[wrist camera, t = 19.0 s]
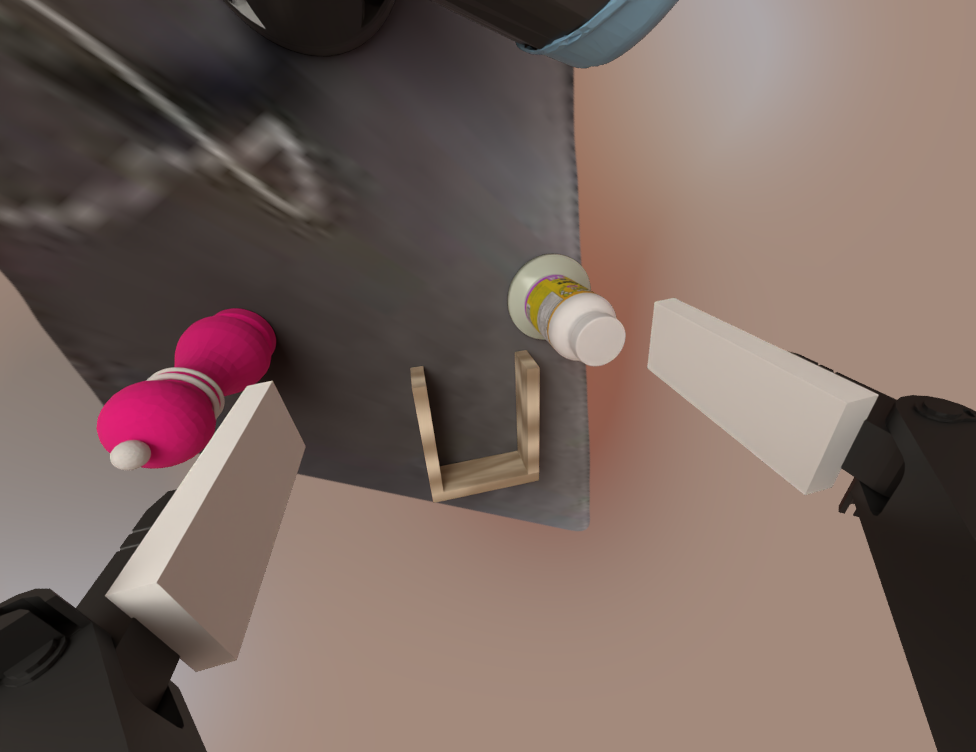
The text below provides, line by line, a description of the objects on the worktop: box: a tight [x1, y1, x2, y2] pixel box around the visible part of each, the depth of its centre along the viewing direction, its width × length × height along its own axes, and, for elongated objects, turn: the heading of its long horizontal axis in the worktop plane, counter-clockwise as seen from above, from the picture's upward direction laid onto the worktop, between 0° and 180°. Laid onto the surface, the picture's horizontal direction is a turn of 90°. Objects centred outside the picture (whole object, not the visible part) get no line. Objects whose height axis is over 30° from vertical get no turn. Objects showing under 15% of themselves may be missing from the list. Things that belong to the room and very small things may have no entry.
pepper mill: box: [97, 308, 276, 470], centre depth 30 cm, size 7×7×20 cm
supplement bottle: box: [524, 274, 626, 366], centre depth 38 cm, size 7×7×13 cm
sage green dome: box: [507, 254, 591, 340], centre depth 44 cm, size 10×10×1 cm
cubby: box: [410, 350, 540, 503], centre depth 48 cm, size 18×14×5 cm
